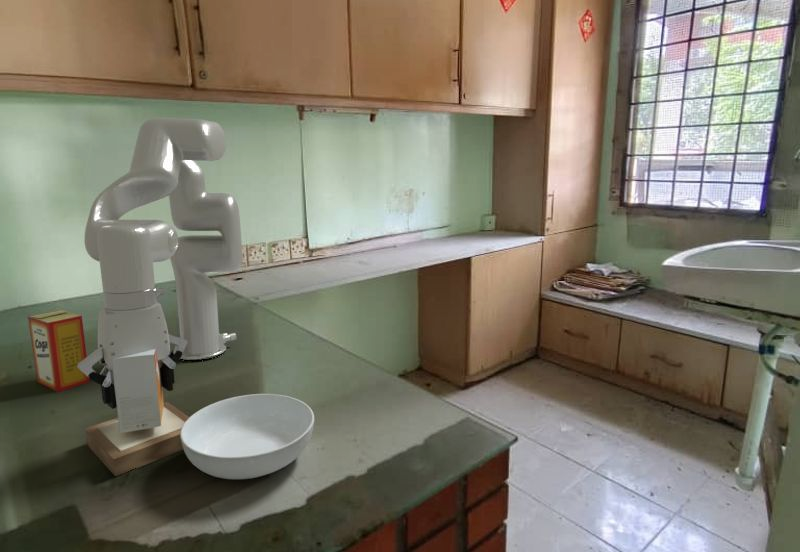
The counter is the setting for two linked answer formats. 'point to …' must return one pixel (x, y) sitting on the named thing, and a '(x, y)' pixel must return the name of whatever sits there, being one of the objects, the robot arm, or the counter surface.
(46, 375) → the baking soda box
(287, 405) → the serving bowl
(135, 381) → the small box
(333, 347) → the counter surface
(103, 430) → the picture frame
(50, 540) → the counter surface
